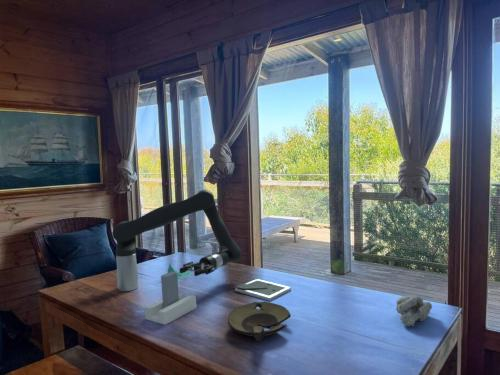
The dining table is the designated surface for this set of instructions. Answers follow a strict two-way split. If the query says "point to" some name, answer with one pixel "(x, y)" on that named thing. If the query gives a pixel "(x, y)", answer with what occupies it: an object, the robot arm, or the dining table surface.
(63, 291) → the dining table surface
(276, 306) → the oil lamp
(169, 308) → the rail
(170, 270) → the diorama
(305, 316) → the dining table surface
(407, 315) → the mineral
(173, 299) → the slate slat
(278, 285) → the picture frame
